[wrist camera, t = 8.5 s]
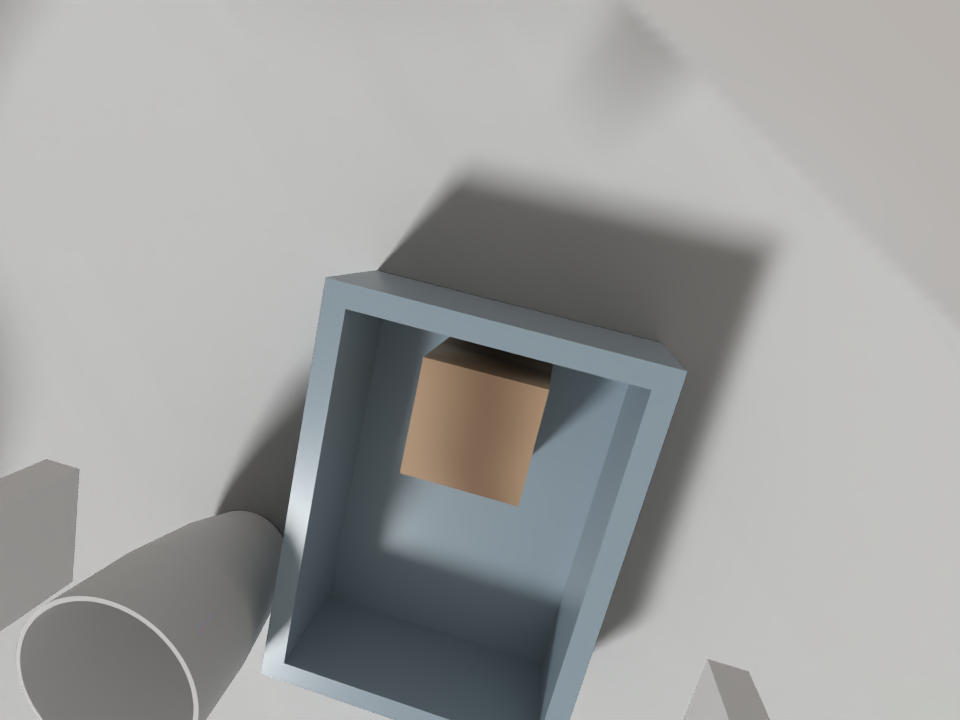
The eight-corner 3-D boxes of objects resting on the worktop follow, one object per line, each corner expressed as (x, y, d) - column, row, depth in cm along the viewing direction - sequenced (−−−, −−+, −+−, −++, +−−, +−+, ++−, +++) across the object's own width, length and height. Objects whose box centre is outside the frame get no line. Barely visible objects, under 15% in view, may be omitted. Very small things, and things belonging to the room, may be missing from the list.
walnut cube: (430, 432, 27) (399, 472, 22) (450, 336, 26) (423, 357, 21) (527, 459, 27) (518, 506, 22) (553, 362, 25) (549, 389, 21)
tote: (316, 596, 31) (261, 673, 26) (376, 270, 27) (325, 277, 21) (554, 674, 30) (551, 773, 24) (661, 342, 25) (687, 371, 20)
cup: (187, 470, 31) (13, 573, 21) (322, 505, 30) (204, 629, 20) (179, 592, 33) (17, 738, 23) (306, 629, 32) (191, 796, 22)
